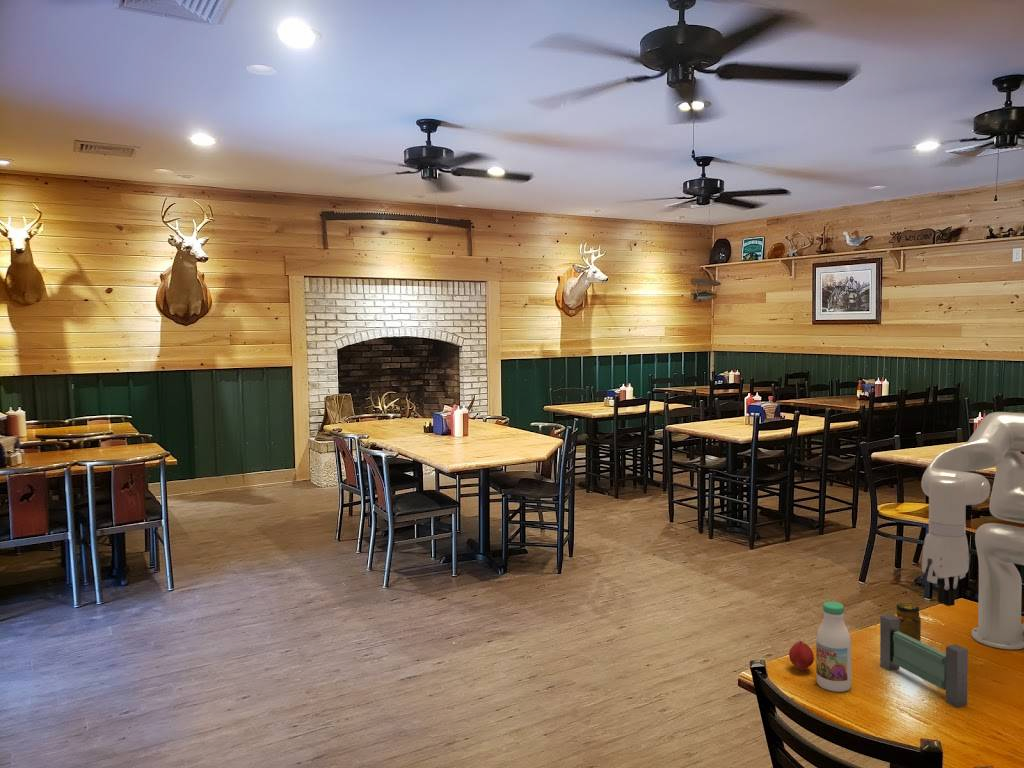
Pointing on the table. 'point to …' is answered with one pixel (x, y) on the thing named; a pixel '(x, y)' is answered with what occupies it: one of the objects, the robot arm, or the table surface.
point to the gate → (920, 659)
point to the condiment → (909, 620)
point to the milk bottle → (833, 650)
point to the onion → (801, 655)
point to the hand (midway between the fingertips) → (946, 603)
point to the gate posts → (954, 661)
